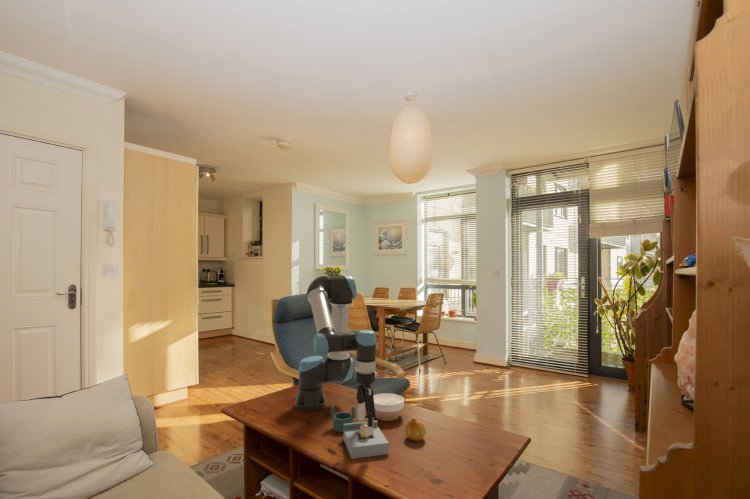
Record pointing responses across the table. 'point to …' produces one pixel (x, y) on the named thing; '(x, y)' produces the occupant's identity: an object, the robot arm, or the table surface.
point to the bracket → (342, 418)
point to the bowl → (388, 406)
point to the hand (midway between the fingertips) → (365, 427)
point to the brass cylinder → (363, 432)
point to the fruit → (415, 430)
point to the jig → (364, 441)
